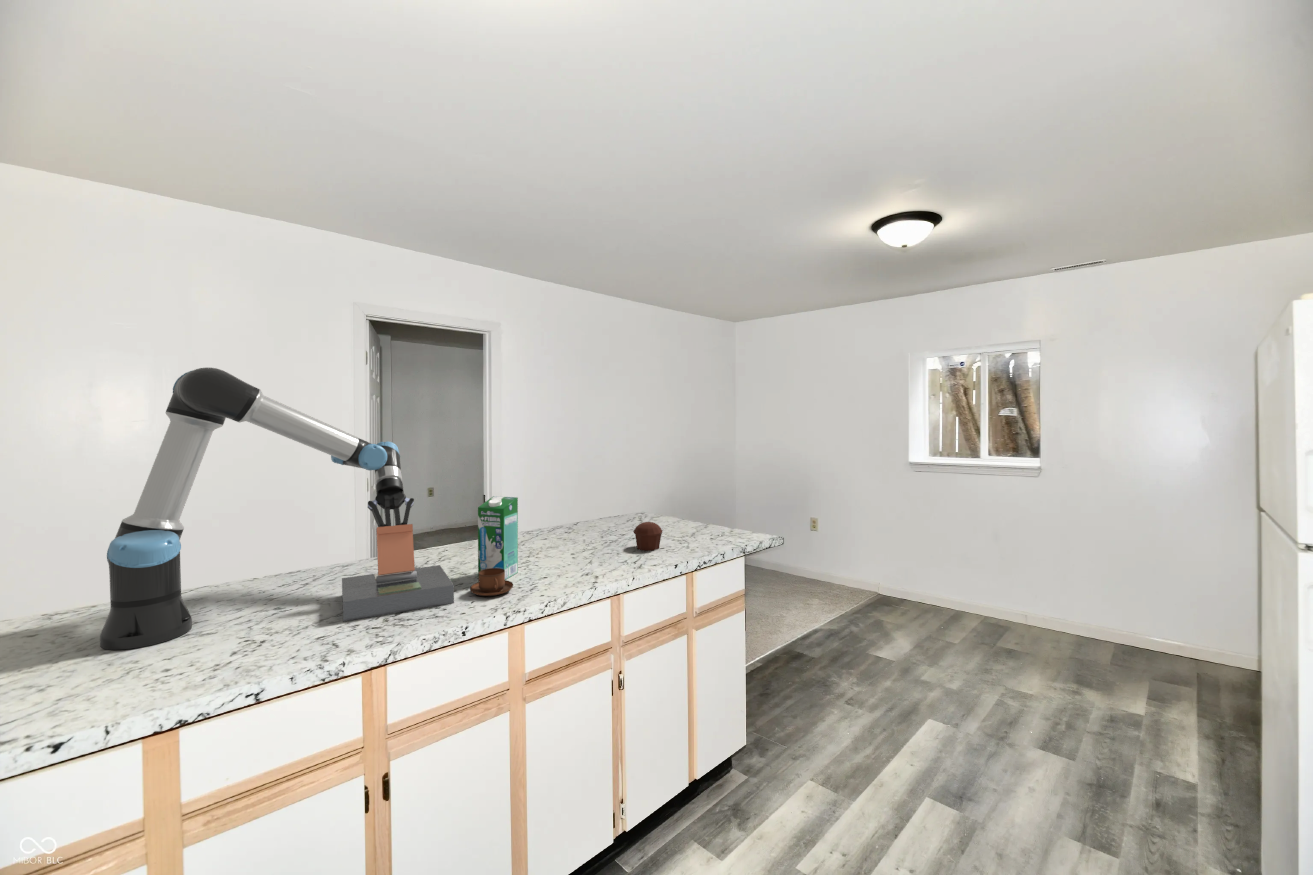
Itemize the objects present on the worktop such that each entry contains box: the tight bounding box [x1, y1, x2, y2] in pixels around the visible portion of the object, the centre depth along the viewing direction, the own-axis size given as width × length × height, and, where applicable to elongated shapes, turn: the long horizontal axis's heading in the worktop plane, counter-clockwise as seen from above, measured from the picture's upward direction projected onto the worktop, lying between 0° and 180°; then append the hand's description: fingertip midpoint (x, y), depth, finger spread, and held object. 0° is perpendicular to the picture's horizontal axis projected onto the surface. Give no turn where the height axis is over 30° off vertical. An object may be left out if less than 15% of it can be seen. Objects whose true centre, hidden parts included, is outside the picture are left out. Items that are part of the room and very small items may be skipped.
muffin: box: [632, 521, 663, 552], centre depth 205 cm, size 12×11×10 cm
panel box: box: [341, 564, 455, 623], centre depth 145 cm, size 22×26×5 cm
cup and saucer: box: [469, 568, 514, 597], centre depth 152 cm, size 12×12×6 cm
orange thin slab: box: [375, 523, 417, 584], centre depth 147 cm, size 3×10×15 cm, turn 122°
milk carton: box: [477, 495, 519, 580], centre depth 167 cm, size 9×9×25 cm
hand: (395, 548), depth 151 cm, fingers closed
